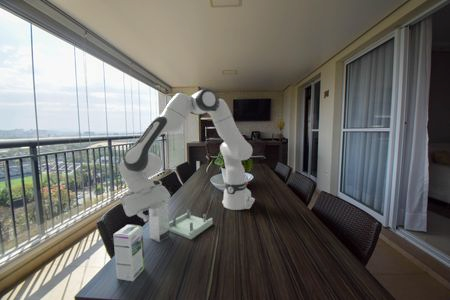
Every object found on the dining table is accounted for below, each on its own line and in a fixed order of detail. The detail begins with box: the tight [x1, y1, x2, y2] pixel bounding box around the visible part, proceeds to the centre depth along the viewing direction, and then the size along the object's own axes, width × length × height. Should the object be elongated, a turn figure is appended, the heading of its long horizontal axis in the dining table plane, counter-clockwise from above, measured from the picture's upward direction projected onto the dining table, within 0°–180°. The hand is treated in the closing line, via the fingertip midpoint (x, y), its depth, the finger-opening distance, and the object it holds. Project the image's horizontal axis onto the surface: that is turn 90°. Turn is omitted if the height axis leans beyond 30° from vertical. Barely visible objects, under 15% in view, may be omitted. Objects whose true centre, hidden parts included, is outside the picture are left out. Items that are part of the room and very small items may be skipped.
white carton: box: [148, 202, 170, 243], centre depth 77 cm, size 5×6×14 cm
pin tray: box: [169, 209, 214, 240], centre depth 86 cm, size 15×15×5 cm
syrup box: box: [113, 224, 146, 282], centre depth 57 cm, size 6×6×14 cm
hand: (157, 215), depth 77 cm, fingers open, 8 cm apart
